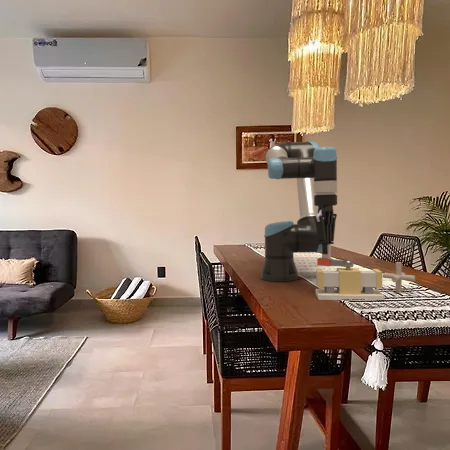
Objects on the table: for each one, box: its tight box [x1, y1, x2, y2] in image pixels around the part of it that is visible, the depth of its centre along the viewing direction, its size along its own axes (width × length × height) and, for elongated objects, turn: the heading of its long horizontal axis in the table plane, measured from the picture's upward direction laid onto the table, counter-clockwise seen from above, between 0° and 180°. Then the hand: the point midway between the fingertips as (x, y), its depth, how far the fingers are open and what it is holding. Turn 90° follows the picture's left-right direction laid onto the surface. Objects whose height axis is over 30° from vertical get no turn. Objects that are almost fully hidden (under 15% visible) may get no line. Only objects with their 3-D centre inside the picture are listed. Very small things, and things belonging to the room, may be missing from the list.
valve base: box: [315, 267, 385, 301], centre depth 123 cm, size 9×20×10 cm, turn 82°
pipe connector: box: [382, 261, 416, 293], centre depth 128 cm, size 10×10×10 cm
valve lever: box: [316, 257, 354, 268], centre depth 125 cm, size 12×3×2 cm, turn 55°
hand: (326, 263), depth 128 cm, fingers closed
